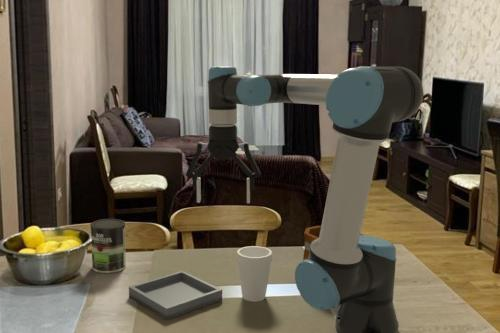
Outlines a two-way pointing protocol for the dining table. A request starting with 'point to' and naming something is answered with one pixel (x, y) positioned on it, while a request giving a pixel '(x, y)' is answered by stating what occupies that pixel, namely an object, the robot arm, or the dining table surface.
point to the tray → (175, 294)
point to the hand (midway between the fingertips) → (223, 202)
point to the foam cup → (254, 271)
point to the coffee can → (108, 245)
